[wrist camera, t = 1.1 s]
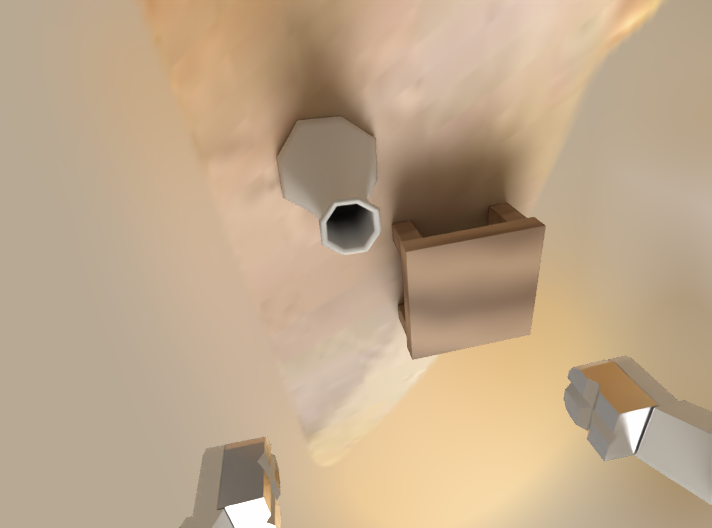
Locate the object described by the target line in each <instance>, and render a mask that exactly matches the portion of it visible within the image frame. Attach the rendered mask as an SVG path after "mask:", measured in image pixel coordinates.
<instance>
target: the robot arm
mask: <svg viewBox="0 0 712 528" xmlns="http://www.w3.org/2000/svg"><path fill="white" fill-rule="evenodd" d="M568 379H569V380H570V381H571V384H570V385H569V386H568V387H567V388H566V389H565V393H564V401H565V406H566V409H567V411H568V413H569V415H570V417H571V418H572V420H573V421H574V422H575V424H576V425H578V426H580V427H582V428H584V429H586V430H587V439H588V441H589V442H590V443H591V445H592V446H593V447H594V448H595V450H596V451H597V452H598V454H599V455H600V456H601V458H602V459H603V460H604V461H608V460H613V459H617V458H622V457H627V456H631V455H636V457H637V458H639V459H640V460H642V461H644V462H645V463H647V464H648V465H650V466H651V467H653V468H654V469H656V470H658V471H659V472H661V473H662V474H664V475H665V476H667V477H668V478H670V479H672V480H673V481H675V482H676V483H678V484H679V485H681V486H683V487H684V488H686V489H687V490H689V491H690V492H692V493H694V494H695V495H696V496H698V497H700V498H701V499H703V500H704V501H706V502H707V503H709V504H710V505H712V412H711V411H709V410H706V409H704V408H702V407H699V406H697V405H694V404H692V403H690V402H687V401H685V400H683V401H678V400H677V399H676V398H675V397H674V396H673V395H671V394H670V393H669V392H668V391H667V390H666V389H665V388H664V387H663V386H662V385H661V384H659V383H658V382H657V381H656V380H655V379H654V378H653V377H652V376H651V375H650V374H649V373H647V372H646V371H645V370H644V369H643V368H642V367H641V366H640V365H639V364H638V363H636V362H635V361H634V360H633V359H632V358H630V357H628V356H621V357H617V358H613V359H608V360H602V361H598V362H594V363H589V364H585V365H581V366H577V367H573V368H572V369H571V370H570V371H569V374H568ZM279 496H280V477H279V469H278V465H277V460H276V458H275V455H273V454H271V443H270V441H269V438H268V436H267V437H262V438H257V439H251V440H247V441H241V442H236V443H231V444H226V445H221V446H217V447H212V448H207V449H206V450H205V452H204V455H203V458H202V464H201V470H200V476H199V482H198V488H197V494H196V499H195V506H194V511H193V516H191V517H187V518H186V519H185V520H184V522H183V523H182V525H181V526H180V527H179V528H281V513H280V509H279V507H278V504H277V499H278V497H279Z"/></svg>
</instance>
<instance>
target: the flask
mask: <svg viewBox="0 0 712 528" xmlns="http://www.w3.org/2000/svg"><path fill="white" fill-rule="evenodd" d="M277 163H278V169H279V175H280V181H281V187H282V194H283V198H285V199H287V200H288V201H290V202H292V203H294V204H296V205H298V206H300V207H302V208H304V209H306V210H308V211H309V212H311V213H313V214H314V215H316V217H317V218H318V219H319V225H320V233H321V241H322V245H324V246H326V247H328V248H330V249H332V250H334V251H336V252H338V253H340V254H342V255H347V254H354V253H361V252H367V251H368V250H369V248H370V247H371V245H372V244H373V243H374V241H375V240H376V238H377V237H378V235H379V234H380V233H381V229H380V209H379V207H377V206H375V205H373V204H372V203H370V202H369V201H368V199H369V197H370V194H371V191H372V189H373V187H374V185H375V183H376V180H377V162H376V138H374V137H372V136H371V135H369V134H368V133H366V132H365V131H363V130H362V129H360V128H359V127H357V126H356V125H354V124H352V123H351V122H349V121H348V120H346V119H345V118H343V117H342V116H335V117H325V118H315V119H306V120H297V122H296V124H295V126H294V127H293V129H292V131H291V133H290V135H289V136H288V138H287V140H286V142H285V144H284V145H283V147H282V149H281V151H280V153H279V155H278V156H277Z"/></svg>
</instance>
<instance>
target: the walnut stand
mask: <svg viewBox="0 0 712 528" xmlns="http://www.w3.org/2000/svg"><path fill="white" fill-rule="evenodd" d="M488 223H489V224H490V225H488V226H483V227H478V228H472V229H467V230H462V231H456V232H451V233H445V234H440V235H435V236H429V237H424V238H422V236H421V235H420V233H419V232H418V231H417V229H416V228H415V226H414V225H413V223H412V222H411V220H410V221H404V222H399V223H393V224H392V232H393V241H394V243H395V245H396V247H397V248H398V250H399V252H400V254H401V259H402V274H403V289H404V304H402V305H398V311H399V319H400V322H401V324H402V326H403V329H404V331H405V333H406V336H407V348H408V350H409V352H410V355H411V357H412V360H414V359H418V358H423V357H428V356H432V355H437V354H442V353H446V352H451V351H456V350H460V349H465V348H469V347H474V346H479V345H484V344H489V343H493V342H497V341H503V340H507V339H511V338H517V337H521V336H525V335H530V331H531V325H532V318H533V311H534V304H535V297H536V290H537V283H538V276H539V269H540V262H541V254H542V247H543V240H544V233H545V225H544V224H543V223H541V222H540V221H538V220H537V219H536V218H535V217H531V218H526V217H525V216H524V215H522V214H521V213H520V212H518V211H517V210H516V209H515V208H513V207H512V206H511V205H509V204H508V203H503V204H497V205H492V206H489V219H488Z"/></svg>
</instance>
